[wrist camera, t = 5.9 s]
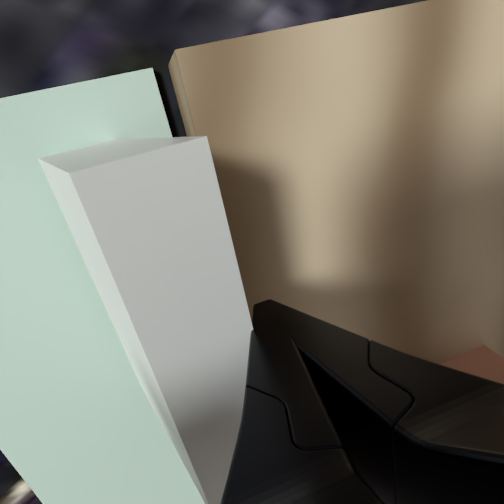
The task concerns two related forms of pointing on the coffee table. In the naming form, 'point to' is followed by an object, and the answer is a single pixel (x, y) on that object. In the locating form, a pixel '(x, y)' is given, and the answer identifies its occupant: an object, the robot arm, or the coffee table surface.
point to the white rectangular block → (166, 284)
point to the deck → (365, 169)
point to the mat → (72, 314)
